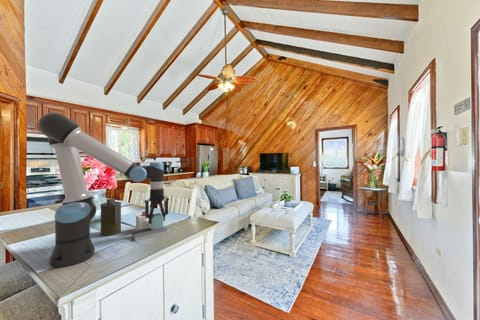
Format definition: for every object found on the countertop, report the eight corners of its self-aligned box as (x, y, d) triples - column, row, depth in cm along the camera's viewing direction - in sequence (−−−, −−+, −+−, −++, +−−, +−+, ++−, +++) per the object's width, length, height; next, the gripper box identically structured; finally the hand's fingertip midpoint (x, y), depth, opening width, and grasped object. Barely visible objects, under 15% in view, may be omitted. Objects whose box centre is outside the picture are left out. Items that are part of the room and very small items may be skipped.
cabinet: (139, 233, 115) (139, 218, 115) (135, 229, 122) (135, 214, 122) (155, 229, 121) (155, 215, 121) (151, 226, 128) (151, 212, 128)
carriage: (153, 232, 112) (153, 215, 112) (151, 230, 116) (151, 214, 116) (162, 230, 115) (162, 214, 115) (160, 228, 119) (160, 212, 119)
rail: (134, 240, 105) (134, 234, 105) (131, 236, 110) (131, 231, 110) (166, 233, 116) (166, 227, 116) (162, 229, 121) (162, 224, 121)
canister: (96, 234, 114) (96, 199, 114) (115, 228, 123) (114, 196, 123) (107, 237, 109) (107, 201, 109) (125, 231, 118) (125, 198, 118)
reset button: (143, 219, 119) (143, 212, 119) (141, 218, 122) (141, 211, 122) (149, 218, 122) (149, 211, 122) (147, 217, 124) (147, 210, 124)
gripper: (141, 190, 107) (142, 233, 107) (174, 187, 118) (174, 226, 119) (138, 189, 113) (138, 229, 113) (169, 186, 124) (169, 223, 124)
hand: (157, 227), depth 116 cm, fingers closed on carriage, 5 cm apart
